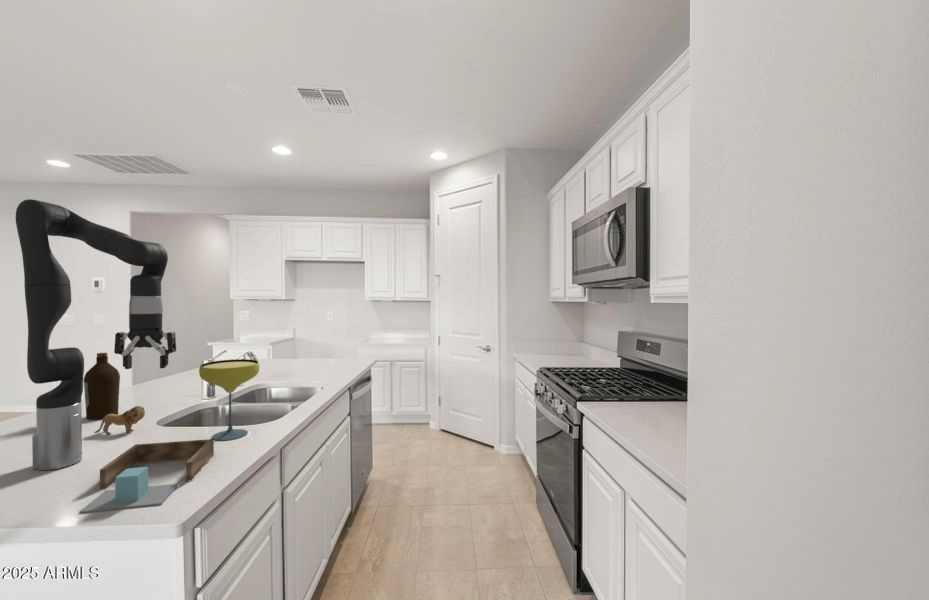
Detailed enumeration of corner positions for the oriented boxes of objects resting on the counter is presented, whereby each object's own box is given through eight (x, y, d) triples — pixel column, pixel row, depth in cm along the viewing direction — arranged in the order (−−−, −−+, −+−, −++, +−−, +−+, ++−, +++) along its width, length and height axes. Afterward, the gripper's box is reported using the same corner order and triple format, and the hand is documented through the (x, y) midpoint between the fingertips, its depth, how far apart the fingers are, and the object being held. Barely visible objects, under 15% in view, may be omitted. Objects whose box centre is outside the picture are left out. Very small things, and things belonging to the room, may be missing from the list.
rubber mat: (79, 513, 93) (79, 511, 93) (105, 492, 102) (105, 490, 102) (161, 504, 97) (161, 503, 97) (179, 485, 106) (178, 483, 106)
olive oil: (121, 411, 168) (121, 350, 168) (118, 417, 160) (118, 353, 159) (86, 415, 162) (86, 352, 161) (81, 422, 153) (81, 356, 153)
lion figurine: (147, 428, 148) (147, 403, 148) (141, 433, 143) (141, 407, 143) (98, 432, 144) (98, 406, 144) (89, 437, 139) (89, 411, 139)
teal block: (115, 502, 96) (115, 477, 96) (126, 492, 101) (126, 468, 101) (137, 500, 98) (137, 475, 97) (148, 490, 102) (148, 466, 102)
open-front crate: (99, 489, 104) (99, 469, 104) (135, 461, 120) (135, 444, 120) (191, 480, 109) (191, 462, 109) (213, 455, 125) (213, 439, 125)
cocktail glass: (216, 426, 151) (216, 359, 150) (267, 426, 152) (267, 359, 152) (187, 445, 133) (187, 368, 132) (245, 444, 134) (245, 368, 134)
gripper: (108, 312, 112) (108, 371, 112) (168, 312, 115) (168, 370, 116) (123, 311, 119) (124, 366, 119) (180, 311, 122) (179, 365, 123)
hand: (146, 368), depth 117 cm, fingers open, 8 cm apart
